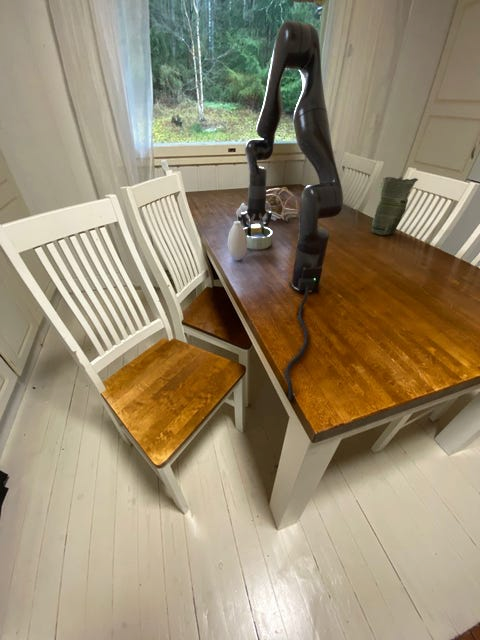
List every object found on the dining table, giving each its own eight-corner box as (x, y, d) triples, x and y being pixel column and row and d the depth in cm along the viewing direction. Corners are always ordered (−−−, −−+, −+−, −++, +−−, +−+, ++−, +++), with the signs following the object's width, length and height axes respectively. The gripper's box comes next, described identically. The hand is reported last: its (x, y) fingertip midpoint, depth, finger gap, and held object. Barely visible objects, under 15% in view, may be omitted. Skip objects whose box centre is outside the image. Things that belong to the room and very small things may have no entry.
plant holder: (305, 227, 145) (311, 195, 134) (240, 228, 139) (241, 195, 129) (289, 209, 165) (294, 180, 155) (232, 209, 160) (233, 179, 150)
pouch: (364, 230, 137) (381, 175, 122) (381, 226, 142) (399, 172, 126) (382, 238, 130) (403, 180, 114) (399, 233, 134) (421, 177, 118)
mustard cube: (261, 237, 123) (261, 227, 120) (251, 238, 123) (251, 228, 120) (259, 233, 127) (259, 223, 124) (249, 234, 126) (249, 224, 123)
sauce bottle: (230, 264, 108) (229, 219, 97) (226, 256, 114) (224, 212, 103) (249, 262, 110) (250, 217, 99) (243, 254, 116) (244, 210, 104)
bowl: (274, 249, 120) (275, 237, 116) (243, 250, 118) (243, 238, 115) (267, 236, 130) (268, 225, 127) (239, 238, 129) (239, 226, 125)
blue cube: (263, 246, 121) (264, 236, 118) (253, 247, 120) (253, 237, 117) (261, 242, 124) (261, 232, 121) (251, 243, 123) (251, 233, 121)
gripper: (241, 199, 110) (241, 239, 121) (275, 197, 112) (272, 237, 123) (238, 193, 116) (238, 232, 127) (271, 192, 118) (268, 231, 128)
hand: (255, 235), depth 125 cm, fingers closed on mustard cube, 4 cm apart
